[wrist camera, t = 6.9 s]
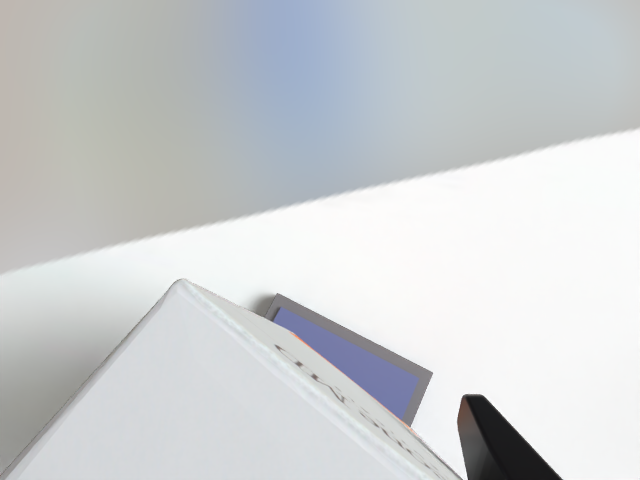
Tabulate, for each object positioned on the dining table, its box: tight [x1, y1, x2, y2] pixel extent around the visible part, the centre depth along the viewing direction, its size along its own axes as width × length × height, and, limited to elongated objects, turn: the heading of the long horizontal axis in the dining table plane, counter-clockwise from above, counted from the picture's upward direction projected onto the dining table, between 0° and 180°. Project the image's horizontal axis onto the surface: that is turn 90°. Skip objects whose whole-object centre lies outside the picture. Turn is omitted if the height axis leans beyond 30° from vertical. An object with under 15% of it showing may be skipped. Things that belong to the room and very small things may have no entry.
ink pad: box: [264, 293, 433, 427], centre depth 18 cm, size 7×8×1 cm
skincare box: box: [0, 279, 463, 480], centre depth 9 cm, size 6×4×12 cm
